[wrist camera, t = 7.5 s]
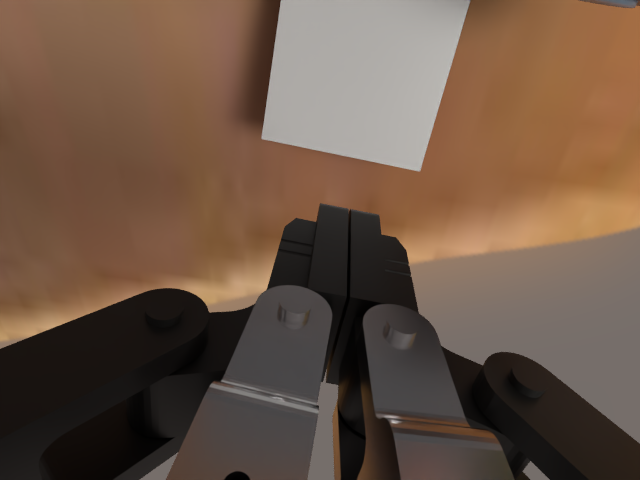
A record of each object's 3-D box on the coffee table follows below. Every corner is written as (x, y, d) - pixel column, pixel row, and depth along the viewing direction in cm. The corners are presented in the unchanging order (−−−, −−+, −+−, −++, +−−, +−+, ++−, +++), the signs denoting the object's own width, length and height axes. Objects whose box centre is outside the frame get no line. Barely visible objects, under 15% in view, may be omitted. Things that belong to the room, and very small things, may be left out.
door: (293, -85, 15) (261, 138, 18) (482, -42, 15) (419, 171, 18) (296, -73, 16) (266, 133, 19) (471, -34, 17) (414, 164, 20)
